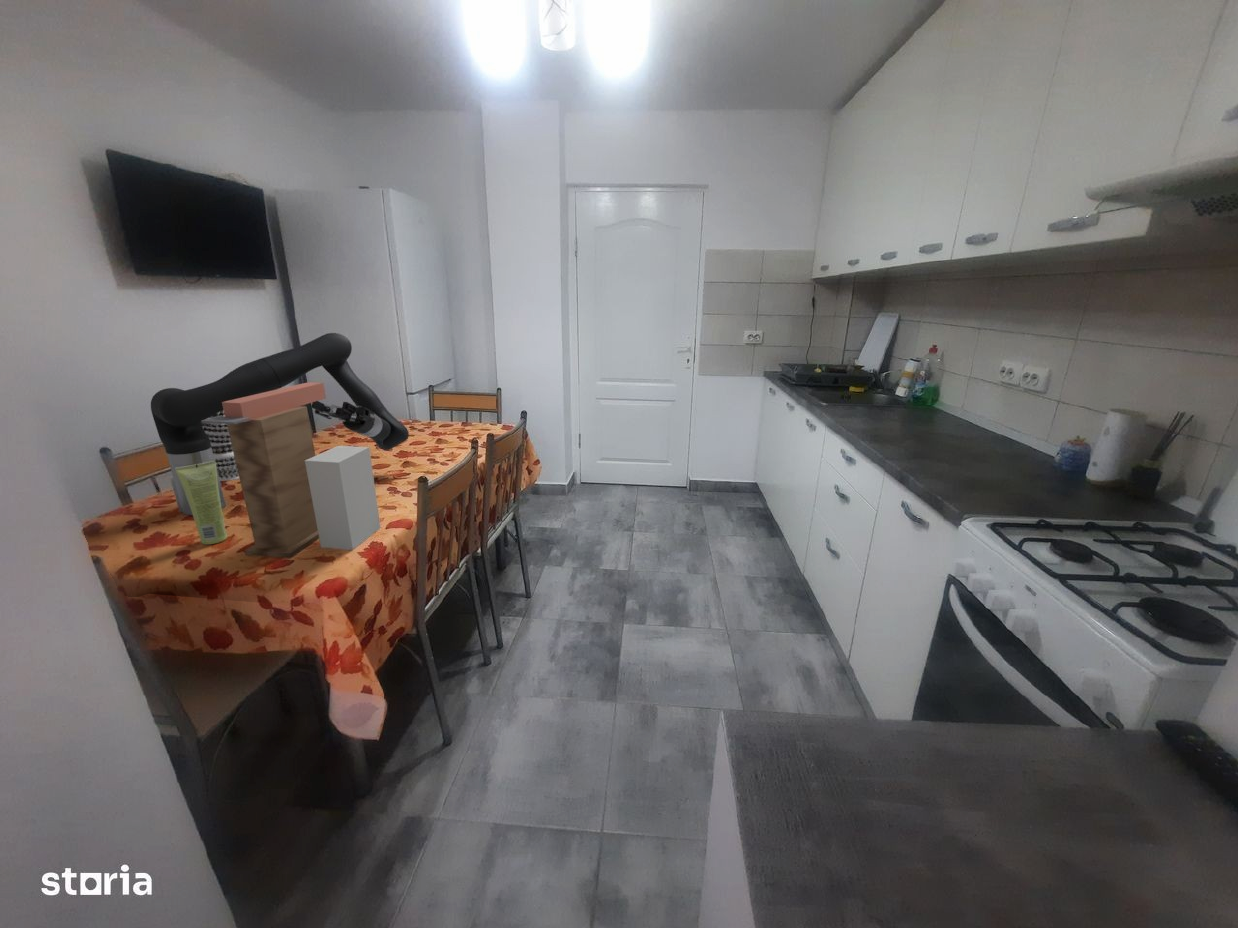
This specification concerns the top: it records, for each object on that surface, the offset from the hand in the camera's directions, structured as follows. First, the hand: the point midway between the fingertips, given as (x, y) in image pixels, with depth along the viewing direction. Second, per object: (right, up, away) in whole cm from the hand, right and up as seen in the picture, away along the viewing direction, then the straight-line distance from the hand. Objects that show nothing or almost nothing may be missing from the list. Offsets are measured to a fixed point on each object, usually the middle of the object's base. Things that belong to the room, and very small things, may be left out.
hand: (328, 404), depth 130 cm
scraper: (-1, -4, -18) cm, 19 cm away
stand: (-3, -34, -10) cm, 36 cm away
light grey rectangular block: (+11, -34, -8) cm, 37 cm away
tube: (-21, -35, -11) cm, 42 cm away
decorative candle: (-49, -20, +29) cm, 61 cm away
